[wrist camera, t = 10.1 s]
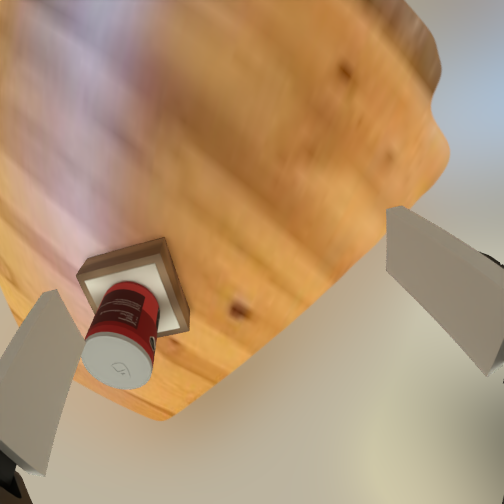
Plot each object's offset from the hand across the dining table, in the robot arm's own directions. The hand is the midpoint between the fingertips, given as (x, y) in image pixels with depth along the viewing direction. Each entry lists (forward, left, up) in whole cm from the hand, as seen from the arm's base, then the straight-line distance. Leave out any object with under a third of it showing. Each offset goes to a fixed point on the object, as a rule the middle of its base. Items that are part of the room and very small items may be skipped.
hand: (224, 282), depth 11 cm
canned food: (+14, -14, -24) cm, 31 cm away
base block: (+14, -14, -29) cm, 35 cm away
